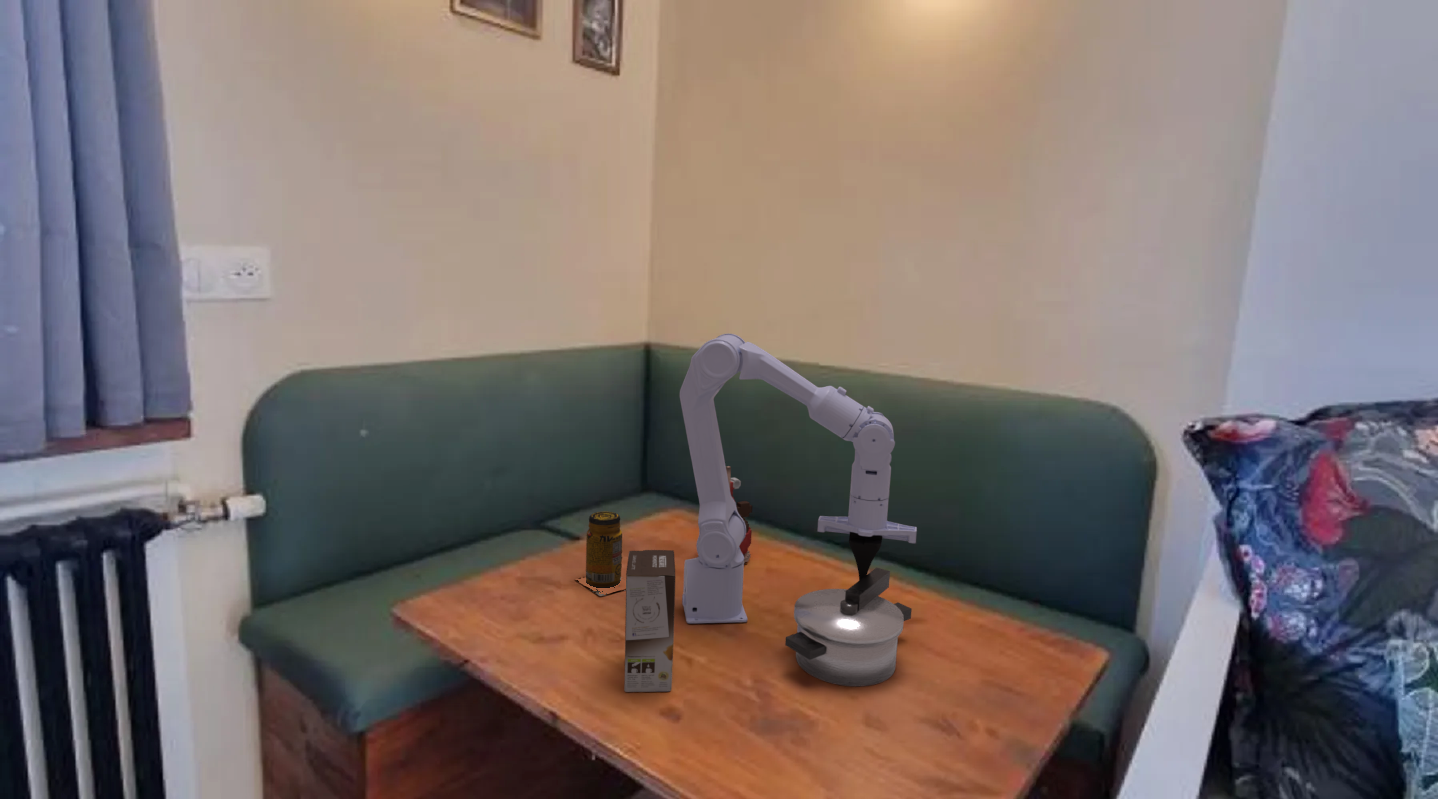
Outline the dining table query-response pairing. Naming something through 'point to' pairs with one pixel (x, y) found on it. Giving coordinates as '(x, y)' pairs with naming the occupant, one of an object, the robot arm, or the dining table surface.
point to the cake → (741, 514)
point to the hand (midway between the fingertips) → (862, 580)
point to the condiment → (603, 550)
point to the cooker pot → (845, 658)
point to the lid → (851, 612)
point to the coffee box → (649, 620)
